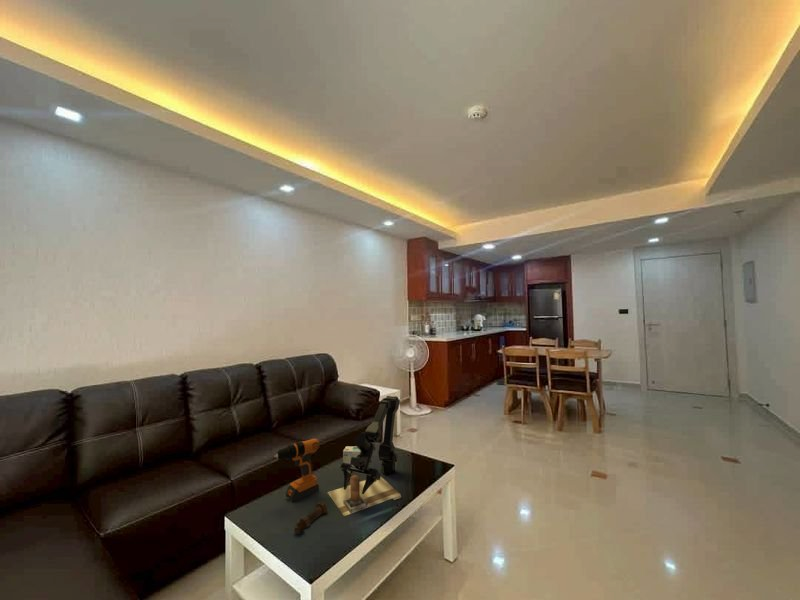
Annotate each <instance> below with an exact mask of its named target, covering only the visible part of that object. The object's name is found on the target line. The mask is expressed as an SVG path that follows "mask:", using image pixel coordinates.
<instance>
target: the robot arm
mask: <svg viewBox="0 0 800 600" xmlns="http://www.w3.org/2000/svg"><path fill="white" fill-rule="evenodd" d="M400 403H401V399H399V397H398V396H390V395H387V396H386V397H384V398H382V399H381V400H380V401H379V406H378V409H377V410H376V413H375V416H374V418H373V419H372V422H371V424H369V425H368V426H367V428H366V429H365V431H364V432H363V431H360V433H359V434H357V435H356V436H355V437H354V439H353V444H354V445H355V447H357V448H358V449H359V450H360V451H361V452H360V455H357V457H351V462H350V464H348V463H343V462H342V463H341V464H340V467H339V469H340V470H341V472H342V473H343V477H344V479H343V487H344V490H346V488H347V486H349V483H350V477H351V476H353V475H352V473H357V474H359V475H360V474H361V475H365V476H366V477H365V478H366V479H365V480H366V482H365V485H364V487H363V490H362V494H364V493H365V492H366V490H367V489H368V488H369V487H370V486H371V485H372V484H373V483H374V482H376V481H377V480H380V477H382V476H381V475H382V474H381V472H382V473H383V474H384V475H385V476H389V475H392V474H395V473H397V472H398V471H397V470H396V463H397V462H398V456H399V455H398V453H396V451H395V450H396V447H395V444H394V442H393V437H394V429H395V420H396V413H397V412H398V410H399V407H400ZM384 421H385V422H384ZM383 423H385V425H384V432H383V441H382V443H381V444H379V448H378V453H377V455H378V459H379V461H381V467H380V468H381V469H380V471H379V470H378V469H377V468H372V467H371V468H369V466H370V464H371V463H372V457H373V453H374V452H375V451H376V450H377V449H376V445H375V443H376V444H377V443H379V441H380V440H381V438H382V436H381V435H382V426H383ZM351 465H353V466H355V467H352V466H351Z"/></svg>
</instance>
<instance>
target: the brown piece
mask: <svg viewBox="0 0 800 600" xmlns="http://www.w3.org/2000/svg"><path fill="white" fill-rule="evenodd" d="M360 482H361V481H360V475H357V474H353V475H352V476H351V477H350V481H349V483H350V484H349V485H350V489H351V499H350V506H351V507H355V506H358V505H360Z"/></svg>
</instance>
